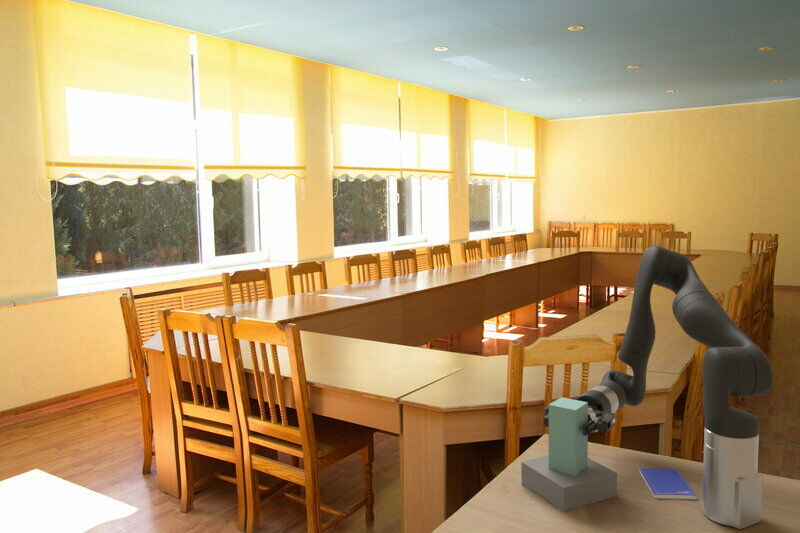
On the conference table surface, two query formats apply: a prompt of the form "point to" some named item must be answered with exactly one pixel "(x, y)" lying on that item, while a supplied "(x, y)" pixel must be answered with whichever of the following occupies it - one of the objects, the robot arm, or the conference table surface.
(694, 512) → the conference table surface
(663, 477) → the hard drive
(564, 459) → the carton
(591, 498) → the podium
